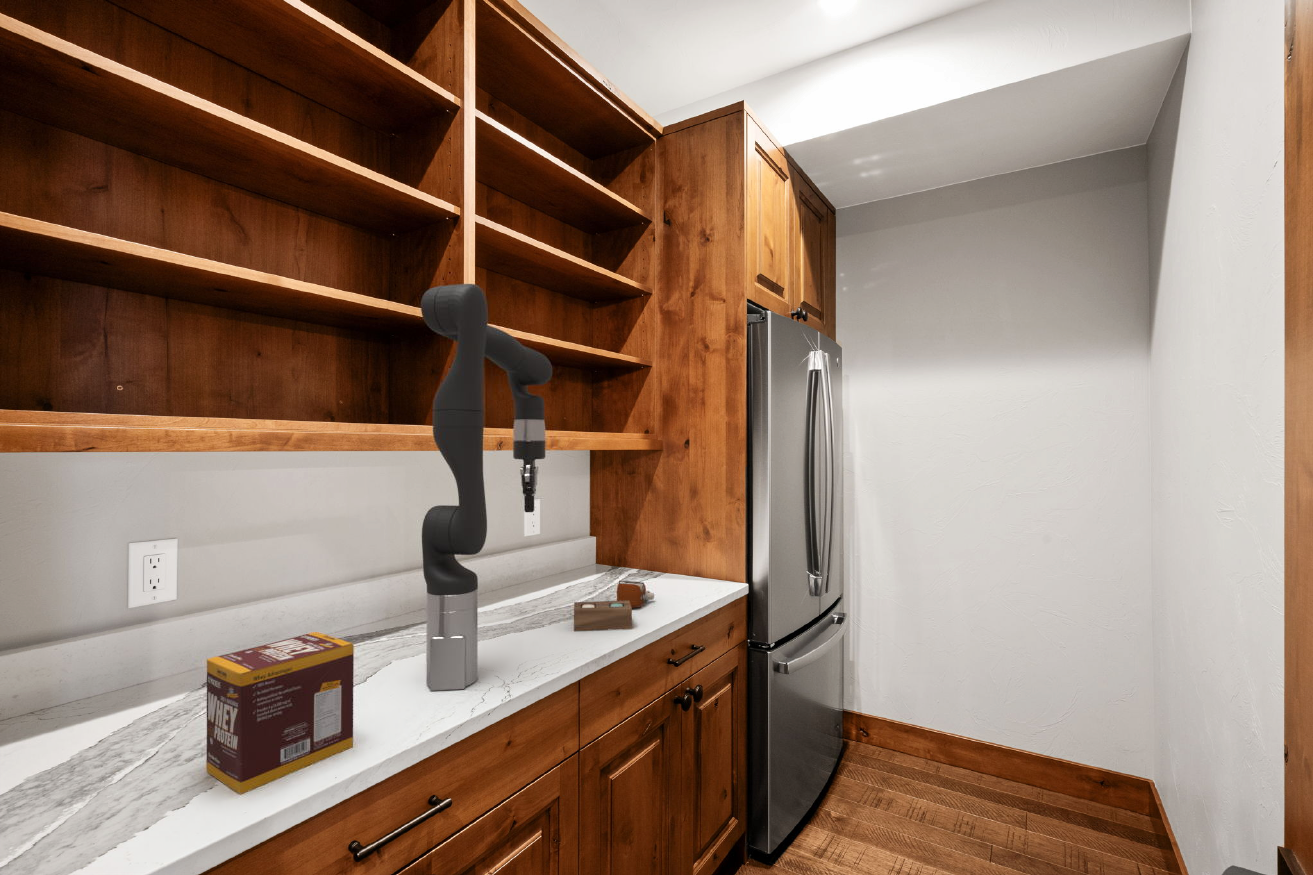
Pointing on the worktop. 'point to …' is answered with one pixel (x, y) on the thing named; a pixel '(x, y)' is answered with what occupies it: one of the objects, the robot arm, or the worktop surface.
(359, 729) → the worktop surface
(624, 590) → the toy
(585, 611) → the socket block
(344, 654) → the supplement box
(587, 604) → the peg cream
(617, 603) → the peg teal
